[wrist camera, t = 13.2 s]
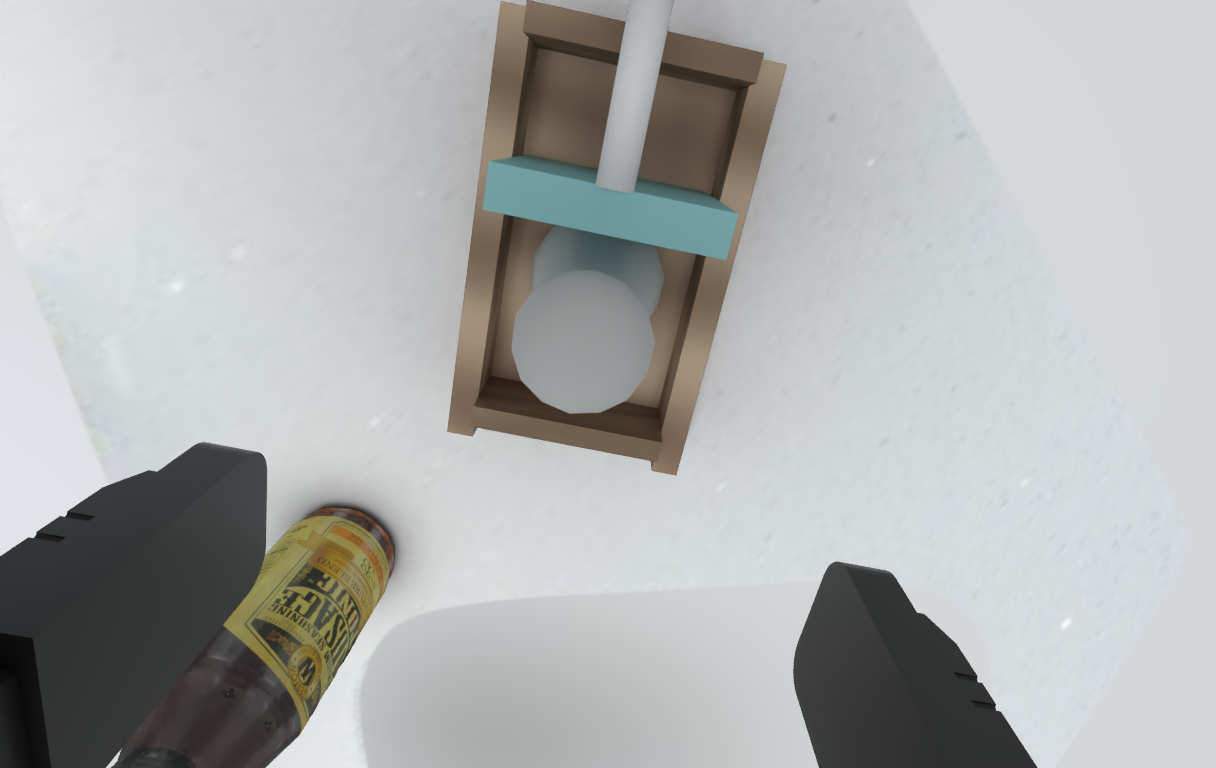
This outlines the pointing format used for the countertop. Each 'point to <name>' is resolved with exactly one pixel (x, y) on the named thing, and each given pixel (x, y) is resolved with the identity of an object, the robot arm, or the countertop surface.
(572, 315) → the salt shaker
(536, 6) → the wooden tray
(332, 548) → the sauce bottle
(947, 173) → the countertop surface
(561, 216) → the pusher paddle
